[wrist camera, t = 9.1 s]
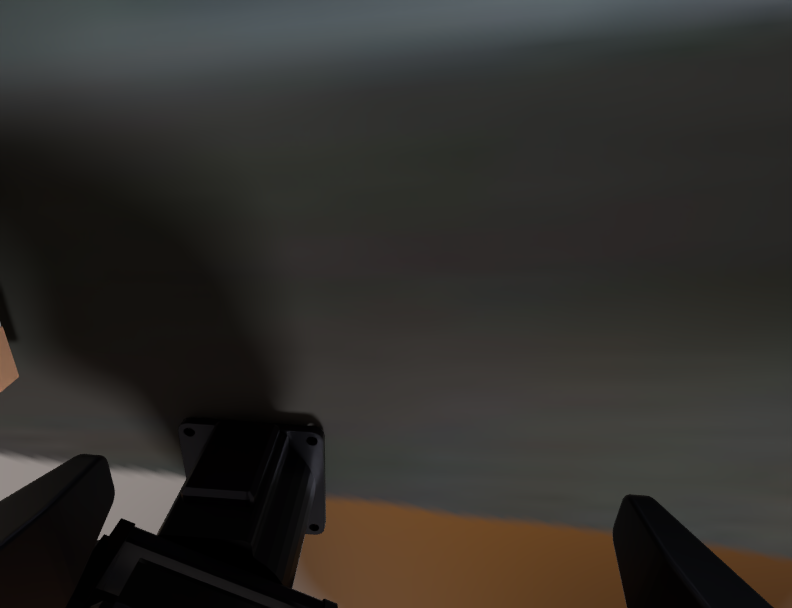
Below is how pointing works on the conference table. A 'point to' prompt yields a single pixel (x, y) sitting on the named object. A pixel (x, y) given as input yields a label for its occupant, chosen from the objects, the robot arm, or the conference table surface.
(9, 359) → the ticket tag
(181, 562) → the robot arm
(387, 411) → the conference table surface
